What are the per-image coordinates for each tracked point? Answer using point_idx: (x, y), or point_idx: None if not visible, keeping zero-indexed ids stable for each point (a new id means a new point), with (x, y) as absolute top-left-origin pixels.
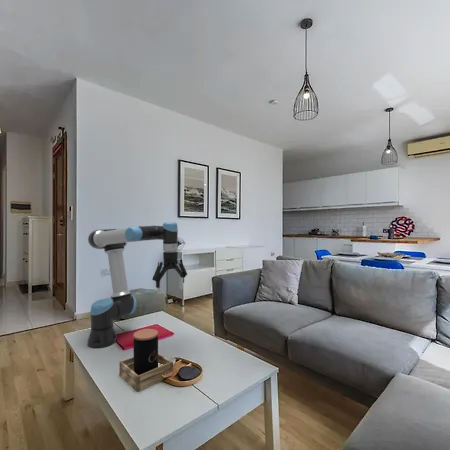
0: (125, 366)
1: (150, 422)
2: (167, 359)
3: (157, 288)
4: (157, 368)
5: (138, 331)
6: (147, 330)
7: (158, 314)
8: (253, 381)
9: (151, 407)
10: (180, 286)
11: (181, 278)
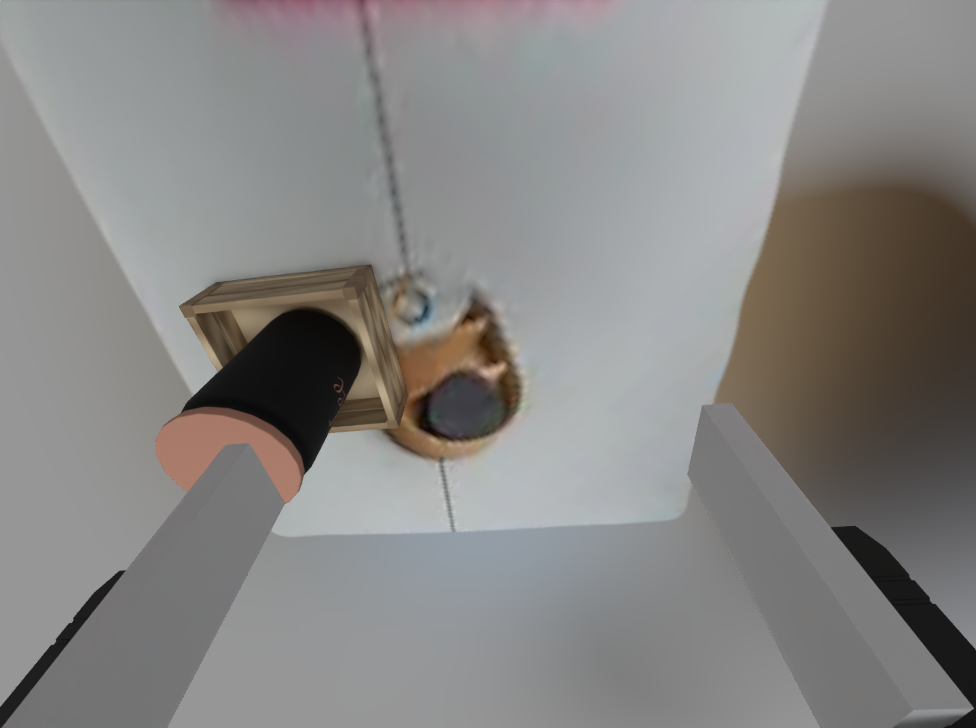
0: (210, 357)
1: (297, 504)
2: (386, 402)
3: (168, 527)
4: (332, 432)
5: (183, 428)
6: (241, 443)
7: None
8: (584, 524)
9: (307, 473)
10: (720, 478)
11: (833, 721)
